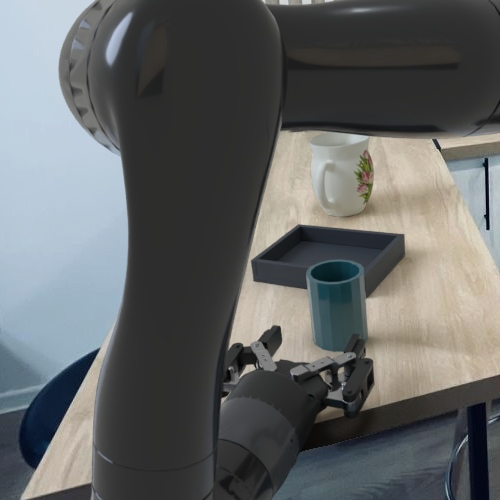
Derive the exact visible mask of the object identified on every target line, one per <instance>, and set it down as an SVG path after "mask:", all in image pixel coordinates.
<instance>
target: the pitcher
mask: <svg viewBox="0 0 500 500" xmlns="http://www.w3.org/2000/svg"><path fill="white" fill-rule="evenodd" d="M370 137H371V136H362V135H353V134H344V133H335V132H325V131H324V132H322V133H319V134H318V135H315V136H314V137H312V138H311V139H310V140H309V147H310V150H311V153H312V159H311V163H310V169H309V170H310V171H309V172H310V181H311V187H312V191H313V193H314V196H315V198H316V200H317V203H318V204H319V206H320V208H321V209H322V210H323V211H324V212H325V213H326V214H327V215H329V216H331V217H339V218H344V217H352V216H356V215H358V214H360V213H362V212H363V211H364V209H365V208H366V207H367V205H368V203H369V201H370V199H371V196H372V191H373V186H374V181H375V180H374V179H375V178H374V177H375V172H374V171H375V170H374V163H373V160H372V156H371V154H370V152H369V143H370V139H371V138H370Z"/></svg>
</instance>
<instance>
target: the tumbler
mask: <svg viewBox="0 0 500 500" xmlns="http://www.w3.org/2000/svg"><path fill="white" fill-rule="evenodd" d="M306 279H307V289H306V290H307V298H308V306H309V315H310V316H309V318H310V327H311V335H312V337H311V338H312V341H313V343H314V345H315V346H316V347H318V348H320V349H321V350H324V351H328V352H335V353H336V352H337V353H338V352H339V353H340V352H342V353H343V351H344V349H345V348H346V346H347V344H348V342H349V340H350V338H351V336H352V335H353V334H360V335H361V339H364V340H365V343H367V341H368V340H369V327H368V313H367V312H368V310H367V298H366V294H365V279H364V268H363V267H362V266H361V265H360V264H359V263H356V262H354V261H350V260H329V261H324V262H320V263H317V264H315V265H313V266H311V267H310V268H309V269H308V270H307V273H306Z"/></svg>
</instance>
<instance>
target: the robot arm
mask: <svg viewBox="0 0 500 500" xmlns="http://www.w3.org/2000/svg"><path fill="white" fill-rule="evenodd" d="M57 68H58V80H59V87H60V90H61V93H62V98H63V99H64V102H65V104H66V106H67V108H68V110H69V111H70V113H71V115H72V116H73V117H74V119H75V121H77V123H78V124H79V125H80V127H81V128H82V129H83V130H84V132H85V133H86V134H88V136H90V137H91V138H92V139H93V141H95V142H96V143H98V144H99V145H100V146H102V147H104V148H105V149H106V150H108V151H109V152H111V153H113V154H114V155H117V156H119V157H120V161H121V167H122V168H121V169H122V176H123V184H124V192H125V193H124V194H125V203H126V215H127V216H126V217H127V255H126V269H125V277H124V284H123V290H122V295H121V301H120V306H119V309H118V312H117V317H116V320H115V323H114V326H113V329H112V333H111V336H110V339H109V342H108V345H107V347H106V351H105V353H104V355H103V360H102V363H101V367H100V370H99V375H98V379H97V385H96V390H95V391H96V392H95V397H94V405H93V419H92V441H91V443H92V444H91V447H92V448H91V482H90V483H91V484H90V485H91V488H90V489H91V491H90V492H91V493H90V498H89V500H273V499H274V496H275V495H276V494H277V493H278V491H280V489H281V488H282V486H283V485H284V483H285V482H286V480H287V478H288V476H289V474H290V473H291V470H292V469H293V468H294V466H296V463H297V460H298V457H299V455H300V453H301V451H302V449H303V447H304V445H305V443H306V442H307V439H308V438H309V436H310V434H311V431H312V430H313V428H314V425H315V422H316V419H317V417H318V415H319V414H320V413H322V412H323V411H324V410H326V409H327V408H328V407H329V408H334V409H339V410H343V416H344V418H346V419H348V420H349V419H350V420H352V419H355V418H357V417H358V416H359V414H360V412H361V411H362V409H363V407H364V405H365V403H366V401H367V399H368V397H369V396H370V394H371V392H372V390H373V388H374V386H375V384H376V383H375V381H376V380H375V368H374V367H375V366H374V360H373V359H372V358H370V357H366V356H367V352H366V351H367V350H366V342H365V340H364V339H361V335H360V334H353V335H352V336H351V338H350V340H349V342H348V344H347V346H346V348H345V349H344V351H343V352H342V354H339V355H337V356H335V357H333V358H331V357H330V356H328V355H327V356H324V357H321V358H319V359H317V360H315V361H312V362H306V361H305V362H304V361H292V360H289V359H282V358H280V359H279V360H277V361H274V360H273V357H274V355H275V354H276V353H277V351H278V350H279V349H280V348H281V345H282V343H283V334H282V327H281V325H277V324H276V325H275V324H273V325H272V326H271V327H270V328H268V329H266V330H264V332H262V334H261V335H260V336H259V338H258V339H257V340H256V341H252V342H251V343H250V344H249V345H247V346H244V343H242V342H235V343H232V344H230V343H231V339H232V338H231V337H232V333H233V328H234V324H235V319H236V315H237V309H238V305H239V301H240V297H241V292H242V289H243V283H244V279H245V276H246V271H247V266H248V263H249V259H250V254H251V250H252V246H253V241H254V238H255V234H256V230H257V229H256V228H257V224H258V219H259V216H260V212H261V208H262V204H263V200H264V196H265V192H266V188H267V185H268V181H269V177H270V173H271V169H272V166H273V162H274V158H275V154H276V151H277V150H276V149H277V145H278V141H279V137H280V132H289V131H290V132H291V131H292V132H296V131H295V130H297V131H309V132H310V131H312V132H313V131H315V132H324V133H325V132H335V133H344V134H353V135H362V136H370V137H374V138H388V139H402V140H403V139H404V140H406V139H407V140H408V139H409V140H410V139H411V140H450V139H451V140H452V139H461V138H470V137H479V136H481V137H482V136H489V135H497V134H500V0H329V1H323V2H313V3H305V4H304V3H303V4H281V3H265V2H264V0H94V1H93V2H91V4H89V5H88V6H87V7H86V8H84V10H83V11H81V13H80V14H79V15H78V16H77V18H76V19H75V21H74V22H73V24H72V25H71V27H70V29H69V30H68V32H67V33H66V36H65V38H64V40H63V42H62V46H61V48H60V53H59V57H58V67H57ZM230 345H231V346H230ZM251 365H252V366H253V369H254V370H251V371H249V372H246V373H245V374H243V373H244V371H245V370H246V368H247V366H251ZM340 369H343V371H342V372H340V373H339V370H340ZM321 373H324V378H323V377H322V375H321ZM224 398H225V399H224ZM222 399H224V400H223V402H222Z"/></svg>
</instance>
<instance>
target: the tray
mask: <svg viewBox="0 0 500 500" xmlns="http://www.w3.org/2000/svg"><path fill="white" fill-rule="evenodd" d="M405 240H406V239H405V233H395V232H386V231H385V232H384V231H375V230H364V229H354V228H353V229H352V228H341V227H333V226H332V227H331V226H323V225H322V226H321V225H310V224H301V223H298V224H296V225H295V226H294V227H292V228H291V229H290V230H288V231H287V232H286V233H285V234H284V235H282V236H281V237H280V238H278V239H277V240H276V241H274V242H273V243H272V244H270V245H269V246H268V247H266V248H265V249H264V250H262V251H261V252H259V254H257V255H256V256H255V257H254V258H252V259H251V260H250V264H251V271H252V279H253V282H259V283H265V284H272V285H278V286H284V287H291V288H296V289H297V288H298V289H303V290H304V289H305V290H308V289H307V279H306V273H307V270H308V269H309V268H310V267H311V266H313V265H315V264H317V263H320V262H324V261H329V260H350V261H354V262H356V263H359V264H360V265H361V266H362V267H363V268H364V279H365V294H366V299H367V298H368V297H370V295H371V294H372V293H373V291H374V290H375V289H377V287H378V286H379V285H380V284H381V283H382V282H383V281H384V279H385V278H386V277H387V276H388V275H389V274H390V273H391V271H392V270H393V269H394V268H395V267H396V266H397V265H398V263H400V261H401V260H402V259H403V258H404V256H406V241H405Z"/></svg>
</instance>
